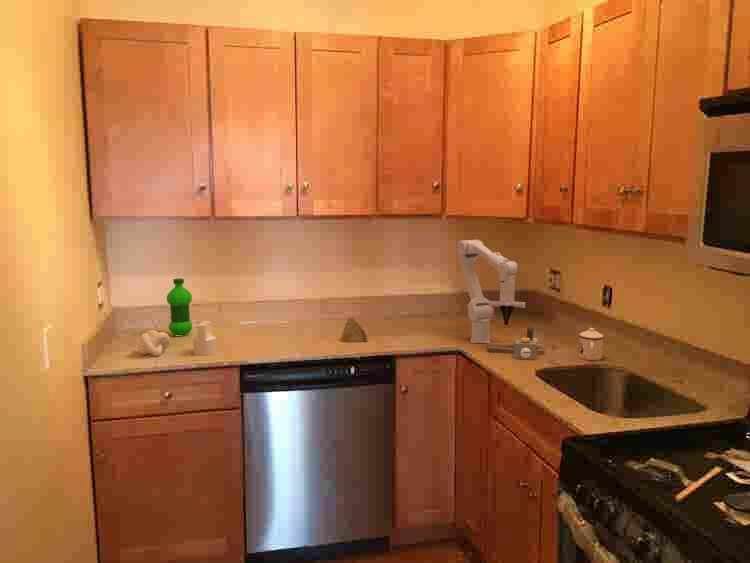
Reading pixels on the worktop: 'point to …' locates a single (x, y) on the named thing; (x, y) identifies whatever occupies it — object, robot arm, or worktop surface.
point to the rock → (353, 332)
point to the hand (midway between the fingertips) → (506, 324)
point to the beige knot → (153, 343)
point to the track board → (510, 349)
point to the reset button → (525, 339)
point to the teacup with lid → (591, 345)
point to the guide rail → (506, 345)
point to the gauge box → (525, 350)
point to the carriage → (531, 335)
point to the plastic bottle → (179, 308)
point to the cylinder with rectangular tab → (205, 340)
